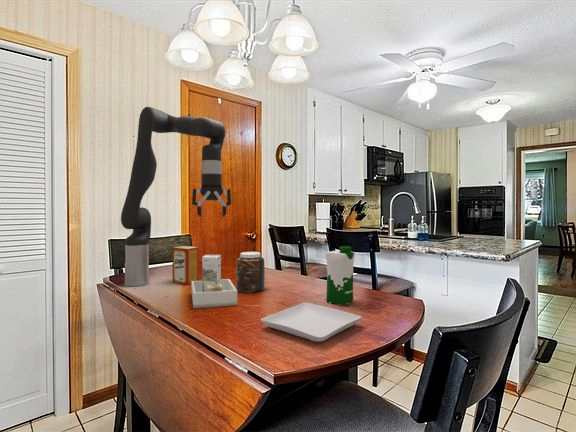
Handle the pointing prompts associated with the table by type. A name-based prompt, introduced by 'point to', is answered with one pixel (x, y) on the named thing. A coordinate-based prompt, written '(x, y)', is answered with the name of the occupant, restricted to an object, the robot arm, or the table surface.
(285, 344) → the table surface
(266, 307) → the table surface
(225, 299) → the tote
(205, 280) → the syrup box
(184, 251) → the baking soda box
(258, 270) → the jar
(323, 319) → the salad plate
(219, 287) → the birch cube
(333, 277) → the milk carton
